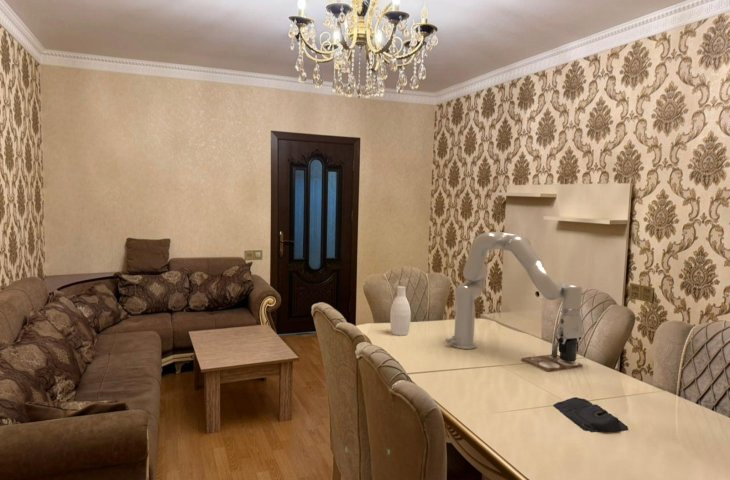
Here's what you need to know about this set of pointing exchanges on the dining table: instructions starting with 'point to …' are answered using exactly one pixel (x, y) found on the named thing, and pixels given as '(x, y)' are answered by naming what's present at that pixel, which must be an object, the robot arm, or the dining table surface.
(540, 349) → the dining table surface
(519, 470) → the dining table surface
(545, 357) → the board
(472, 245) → the robot arm
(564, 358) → the supplement bottle
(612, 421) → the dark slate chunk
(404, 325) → the bottle
